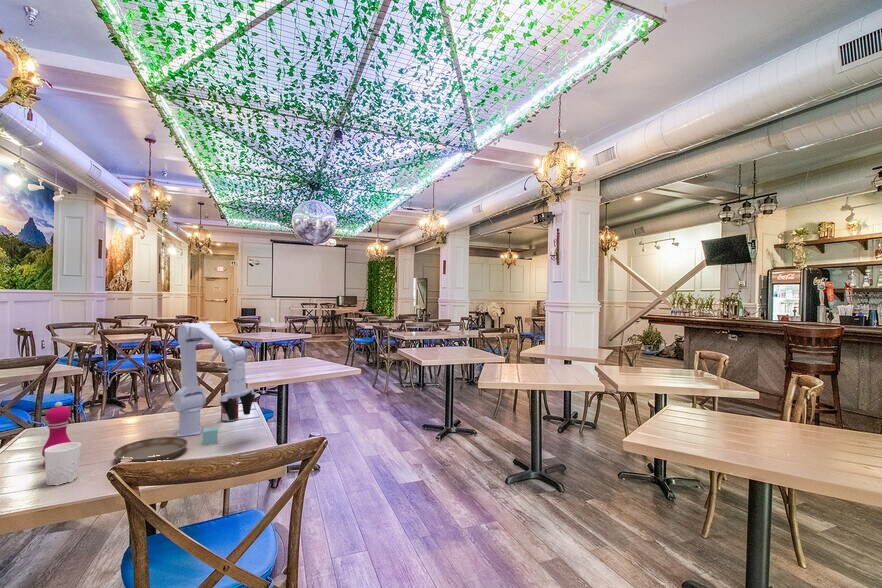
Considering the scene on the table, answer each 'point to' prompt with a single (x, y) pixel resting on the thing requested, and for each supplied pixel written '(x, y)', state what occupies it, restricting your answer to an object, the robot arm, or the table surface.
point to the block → (210, 436)
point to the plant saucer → (152, 449)
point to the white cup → (62, 462)
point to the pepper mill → (57, 426)
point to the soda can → (223, 413)
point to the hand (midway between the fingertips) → (239, 417)
